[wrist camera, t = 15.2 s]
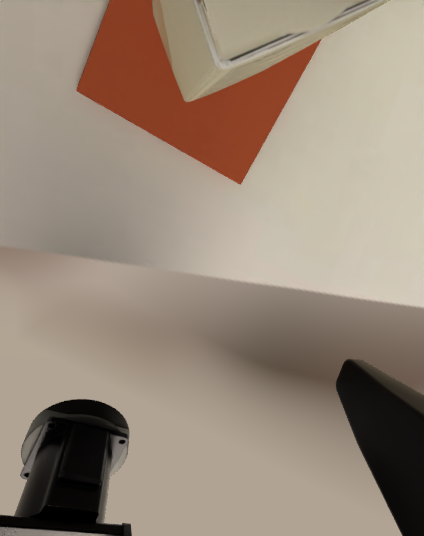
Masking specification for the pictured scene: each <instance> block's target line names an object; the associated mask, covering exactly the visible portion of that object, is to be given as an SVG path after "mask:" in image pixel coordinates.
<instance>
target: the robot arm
mask: <svg viewBox="0 0 424 536" xmlns="http://www.w3.org/2000/svg"><path fill="white" fill-rule="evenodd" d="M336 389H337V392H338V395H339V398H340V400H341V403H342V405H343V408H344V410H345V413H346V415H347V418H348V421H349V423H350V426H351V428H352V431H353V434H354V436H355V438H356V441H357V444H358V446H359V448H360V450H361V452H362V454H363V456H364V458H365V460H366V462H367V464H368V467H369V469H370V471H371V472H372V475H373V477H374V479H375V481H376V483H377V485H378V487H379V489H380V491H381V493H382V495H383V497H384V499H385V501H386V503H387V505H388V507H389V509H390V511H391V513H392V515H393V517H394V520H395V522H396V524H397V526H398V528H399V530H400V532H401V534H402V536H424V395H422V394H421V393H419V392H417V391H415V390H414V389H412V388H410V387H409V386H407V385H405V384H403V383H402V382H400V381H398V380H396V379H395V378H393V377H391V376H389V375H388V374H386V373H384V372H383V371H381V370H379V369H377V368H376V367H374V366H372V365H370V364H369V363H367V362H365V361H364V360H361V359H347V360H346V361H345V362H344V364H343V366H342V369H341V371H340V374H339V376H338V378H337V381H336ZM51 423H53V424H51ZM128 442H129V436H128V435H127V434H126V433H122V432H118V431H114V430H109V429H105V428H101V427H97V426H93V425H88V424H84V423H80V422H76V421H72V420H68V419H63V418H59V417H54V416H52V417H49V418H47V420H46V422H45V424H44V426H43V428H42V430H41V432H40V434H39V436H38V438H37V440H36V442H35V444H34V446H33V448H32V451H31V453H30V455H29V457H28V459H27V461H26V463H25V465H24V467H23V470H22V472H21V475H20V476H21V477H22V478H23V479H27V482H26V485H25V488H24V490H23V493H22V496H21V499H20V502H19V504H18V507H17V510H16V512H15V515H14V516H6V515H0V536H132V535H131V524H127V523H122V525H119V524H107V523H104V519H105V511H106V503H107V495H108V487H109V479H110V473H111V471H112V469H113V468H114V466H115V464H116V463H117V461H118V459H119V458H120V456H121V454H122V452H123V451H124V449H125V447H126V446H127V444H128Z"/></svg>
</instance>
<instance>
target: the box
mask: <svg viewBox="0 0 424 536" xmlns="http://www.w3.org/2000/svg"><path fill="white" fill-rule="evenodd" d="M388 1H389V0H152V6H153V16H154V19H155V22H156V25H157V28H158V31H159V34H160V37H161V40H162V43H163V46H164V48H165V51H166V54H167V57H168V60H169V62H170V65H171V68H172V71H173V73H174V76H175V79H176V81H177V84H178V86H179V89H180V91H181V94H182V96H183V99H184V101H186V102H191V101H194V100H196V99H199V98H202V97H204V96H207V95H209V94H212V93H214V92H217V91H219V90H221V89H224V88H226V87H228V86H230V85H233V84H235V83H237V82H239V81H242V80H244V79H246V78H248V77H251V76H253V75H255V74H257V73H259V72H261V71H263V70H265V69H267V68H269V67H271V66H273V65H275V64H276V63H278V62H280V61H282V60H284V59H286V58H287V57H289V56H291V55H293V54H295V53H297V52H299V51H300V50H302V49H304V48H306V47H308V46H310V45H312V44H313V43H315V42H317V41H319V40H320V39H322V38H324V37H326V36H328V35H329V34H331V33H333V32H335V31H337V30H338V29H340V28H342V27H344V26H346V25H348V24H349V23H351V22H353V21H355V20H356V19H358V18H360V17H362V16H363V15H365V14H367V13H368V12H370V11H372V10H374V9H375V8H377V7H379V6H381V5H382V4H384V3H386V2H388Z"/></svg>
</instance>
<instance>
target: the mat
mask: <svg viewBox="0 0 424 536" xmlns="http://www.w3.org/2000/svg"><path fill="white" fill-rule="evenodd" d="M320 41H321V39H320V40H319V41H317V42H315V43H313V44H312V45H310V46H308V47H306V48H304V49H302V50H300V51H299V52H297V53H295V54H293V55H291V56H289V57H287V58H286V59H284V60H282V61H280V62H278V63H276V64H275V65H273V66H271V67H269V68H267V69H265V70H263V71H261V72H259V73H257V74H255V75H253V76H251V77H248V78H246V79H244V80H242V81H239V82H237V83H235V84H233V85H230V86H228V87H226V88H224V89H221V90H219V91H217V92H214V93H212V94H209V95H207V96H204V97H202V98H199V99H196V100H194V101H191V102H186V101H184V99H183V96H182V94H181V91H180V89H179V86H178V84H177V81H176V79H175V76H174V73H173V71H172V68H171V65H170V62H169V60H168V57H167V54H166V51H165V48H164V46H163V43H162V40H161V37H160V34H159V31H158V28H157V25H156V22H155V19H154V16H153V6H152V0H110V2H109V4H108V7H107V10H106V12H105V15H104V18H103V20H102V23H101V26H100V28H99V31H98V34H97V36H96V39H95V42H94V44H93V47H92V50H91V52H90V55H89V58H88V60H87V63H86V66H85V68H84V71H83V74H82V76H81V79H80V82H79V84H78V87H77V90H76V91H78V92H79V93H81V94H83V95H85V96H86V97H88V98H90V99H92V100H93V101H95V102H97V103H99V104H100V105H102V106H104V107H106V108H107V109H109V110H111V111H113V112H114V113H116V114H118V115H120V116H121V117H123V118H125V119H127V120H128V121H130V122H132V123H133V124H135V125H137V126H139V127H140V128H142V129H144V130H146V131H147V132H149V133H151V134H153V135H154V136H156V137H158V138H160V139H161V140H163V141H165V142H167V143H168V144H170V145H172V146H174V147H175V148H177V149H179V150H181V151H182V152H184V153H186V154H188V155H189V156H191V157H193V158H195V159H196V160H198V161H200V162H202V163H203V164H205V165H207V166H209V167H210V168H212V169H214V170H216V171H217V172H219V173H221V174H223V175H224V176H226V177H228V178H230V179H231V180H233V181H235V182H237V183H238V184H241V183H242V181H243V179H244V178H245V176H246V174H247V172H248V170H249V169H250V167H251V165H252V163H253V161H254V160H255V158H256V156H257V154H258V152H259V151H260V149H261V147H262V145H263V143H264V142H265V140H266V138H267V136H268V134H269V133H270V131H271V129H272V127H273V125H274V124H275V122H276V120H277V118H278V116H279V115H280V113H281V111H282V109H283V107H284V106H285V104H286V102H287V100H288V98H289V97H290V95H291V93H292V91H293V90H294V88H295V86H296V84H297V82H298V81H299V79H300V77H301V75H302V73H303V72H304V70H305V68H306V66H307V64H308V63H309V61H310V59H311V57H312V55H313V54H314V52H315V50H316V48H317V46H318V45H319V43H320Z"/></svg>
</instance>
